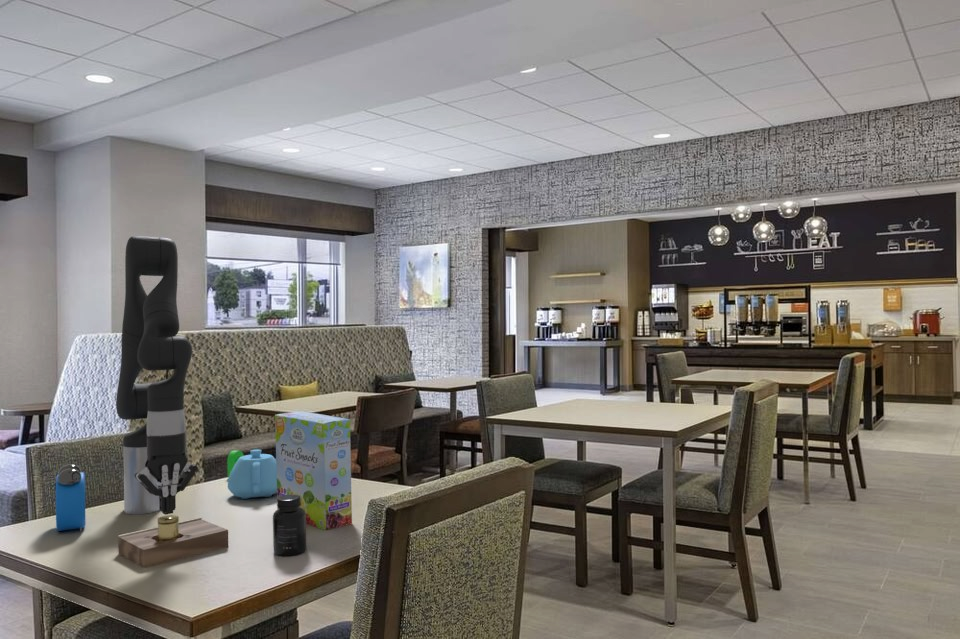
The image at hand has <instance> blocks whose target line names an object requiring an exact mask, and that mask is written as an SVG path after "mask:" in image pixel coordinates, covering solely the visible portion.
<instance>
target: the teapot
mask: <svg viewBox="0 0 960 639" xmlns="http://www.w3.org/2000/svg"><path fill="white" fill-rule="evenodd" d="M235 462H236V461H235ZM227 489H228V490H229V492H230V493H231V494H232V495H233V496H234V497H238V498H240V499H241V500H248V499H250V498H261V497H263V498H271V497H272V495H275V494H277V471H276V457H274V456H273V455H272V454H267V453H262V449H251V450H250V454H246V455H244V456H242V457H240V458H239V459H238V460H237V462H236V464H235V465H234V467H233V469H232V471H231V473H230V476H229V478H228V479H227Z"/></svg>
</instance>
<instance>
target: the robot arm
mask: <svg viewBox="0 0 960 639" xmlns="http://www.w3.org/2000/svg"><path fill="white" fill-rule="evenodd" d="M178 257H179V256H178V247H177V245H176V243H175V241H174V240H173V239H171V238H167V237H161V236H160V237H158V236H145V235H144V236H143V235H132V236H130V237H129V238H128V240H127V243H126V246H125V259H124V260H125V266H124V267H125V270H124V271H125V273H124V274H125V275H124V276H125V290H124V291H125V295H124V296H125V297H124V309H123V319H122V327H121V352H120V353H121V354H120V355H121V357H120V369H119V378H118V384H117V392H116V400H115V401H116V403H115V406H116V407H115V408H116V413H117V416H118V417H119V418H120V419H122V420H124V421H125V420H126V421H130V420H131V421H132V420H142V419H143V420H144V419H146V422H145V423H144V424H143V425H142V426H140V427H139V428H137V429H135V430H132V431H130V432H127V433H125V435H124V436H123V438H122V439H123V440H122V442H123V444H122V446H123V448H122V449H123V492H124V493H123V500H124V502H123V504H124V505H123V507H124V508H123V510H124V511H123V512H124V513H125V514H128V515H144V514H151V513H156V512H161V513H162V514H164V516H168V515H172V514H174V511H176V508H177V506H176V496H177V494H178V493H180V492H184V490H185V489H186V487H187V486H188V484H189V483H190V481H191V480H192V478H193V477H194V476H195V474H196V472H197V471H198V468H199V467H198V466H197V465H195V464H192V463H190V462H189V461H188V457H187V455H186V452H187V450H186V449H187V447H186V445H187V444H186V443H187V442H186V428H187V426H186V416H185V409H184V408H185V407H184V406H185V405H184V396H185V394H184V389H185V383H186V377H187V373H188V369H189V366H190V363H191V360H192V356H193V346H192V344H191V341H189V340H188V338H187V337H185V336H179V335H178V333H179V331H180V321H179V320H180V319H179V314H178V313H179V312H178V305H177V304H178V303H177V295H178V294H177V292H178V278H179V277H178V273H179V272H178V269H179V266H178V265H179V263H178V261H179V260H178ZM141 276H147V277H148V276H149V277H151V276H152V277H162V278H161V279H160V281H159V282H158V283H157V285H155V287H154V288H152V290H151V291H150V292H149V293H148V294H147V292H146V290H145V289H144V287H143V284H142V281H141ZM177 335H178V336H177ZM143 369H144V370H146V371H171V370H172V371H173V373H172V375H171V376H170V377H168V378H166V379H164V380H163V379H162V380H158V381H155V382H147V383H136V380H137V379H138V376H139V374H140V373H141V372H142V370H143ZM182 471H183V472H182Z"/></svg>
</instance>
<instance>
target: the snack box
mask: <svg viewBox="0 0 960 639" xmlns="http://www.w3.org/2000/svg"><path fill="white" fill-rule="evenodd" d="M274 430H275V431H274V432H275V460H276V471H277V493H276V496H277V497H276V499H277V498H278V497H280V496H284V495H299V496H300V497H301V506H300V507H301V508H302V509H304V511H305V513H306V525H308V526H312V527H314V528H318V529H321V530H324V531H329V530H333V529H336V527H337V528H340V527H339V526H341V527H344V526H347V525H346V524H348V525H351V524H350V523H352V524H353V515H352V514H353V512H352V510H353V508H352V507H353V506H352V504H353V503H352V500H353V499H352V458H351V457H352V455H351V454H352V451H351V450H352V448H351V419H349V418H345V417H340V416H339V417H338V416H332V415H326V414H320V413H315V412H308V411H301V410H299V411H298V410H297V411H291V412H284V413H278V414H274ZM276 508H277V509H276V510H278V507H277V506H276ZM343 525H344V526H343ZM332 528H333V529H332Z"/></svg>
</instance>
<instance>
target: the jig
mask: <svg viewBox="0 0 960 639" xmlns="http://www.w3.org/2000/svg"><path fill="white" fill-rule="evenodd" d="M178 524H179V538H178V539H174V540H169V541H159V542H158V526H156V527H150V528H146V529H145V528H144V529H142V530H137V531H132V532H127V533H122V534H120V535H119V534H118V535H117V539H118V541H117V542H118V544H117V548H118V555H119V556H121V557H123V558H125V559H127V560H129V561H130V562H132V563H134V564H136V565H138V566H139V567H142V568H144V569H145V568H149V567H152V566H157V565H161V564H164V563H165V564H166V563H169V562H172V561H173V562H174V561H176V560H177V561H178V560H180V559H185V558H189V557H192V556H193V557H194V556H197V555H200V554H201V555H202V554H205V553H209V552H214V551H219V550H221V549H225V548H229V529H228V528H224V527H222V526H219V525H217V524H215V523H212V522H211V521H210V522H209V521H208V520H205V519H202V517H197V518H193V519H188V520H183V521H178Z"/></svg>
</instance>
